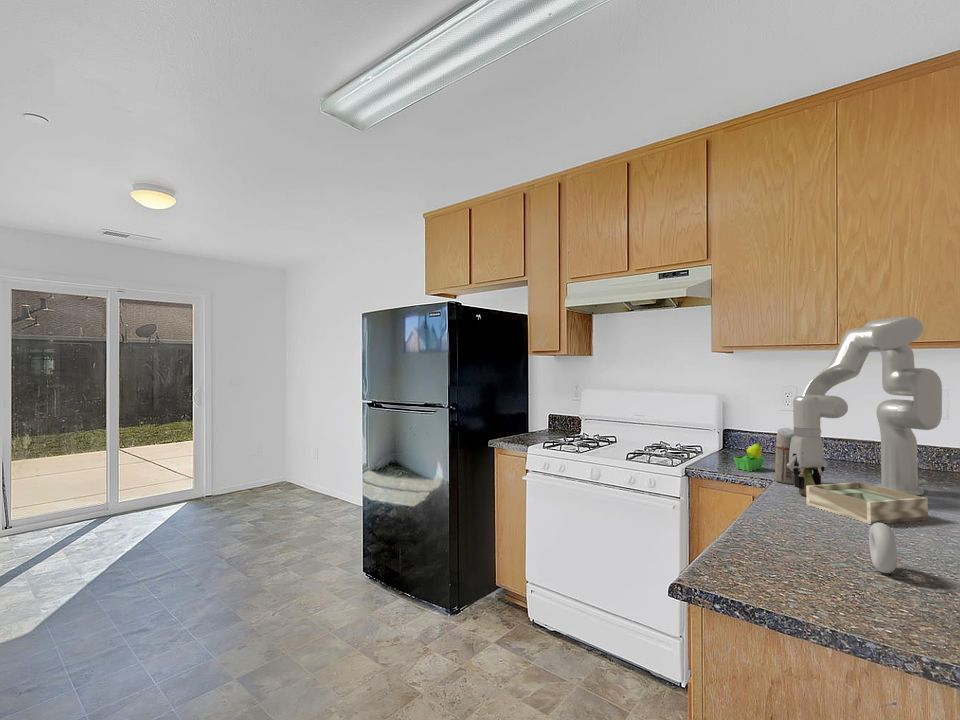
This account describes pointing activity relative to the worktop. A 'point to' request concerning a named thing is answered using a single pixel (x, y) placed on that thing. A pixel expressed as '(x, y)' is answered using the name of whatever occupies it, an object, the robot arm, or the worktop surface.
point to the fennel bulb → (807, 480)
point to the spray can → (783, 456)
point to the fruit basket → (750, 459)
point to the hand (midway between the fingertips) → (807, 486)
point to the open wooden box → (867, 502)
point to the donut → (882, 548)
